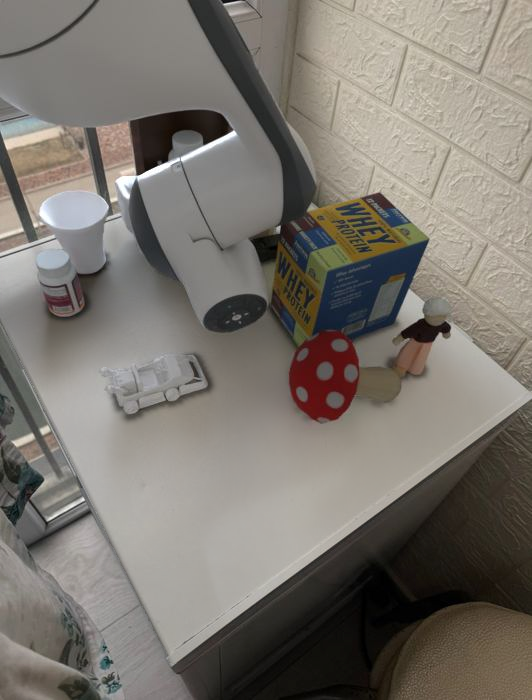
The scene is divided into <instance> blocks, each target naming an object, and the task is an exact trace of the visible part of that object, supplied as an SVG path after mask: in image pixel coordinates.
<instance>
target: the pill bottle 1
mask: <svg viewBox="0 0 532 700" xmlns="http://www.w3.org/2000/svg"><path fill="white" fill-rule="evenodd" d="M35 257H36V258H35V261H34V262H35V266H36V268H37V274H36V275H37V280H38V283H39V286H40V289H41V290H42V294H43V296H44V299H45V301H46V304H47V307H48V309H49V311H50V312H51V313H52V314H53V315H55V316H57V317H63V318H67V317H72V316H74V315H77V314H78V313H80V312H81V311H82V310H83V308H84V306H85V297H84V293H83V290H82V287H81V283H80V279H79V275H78V273H77V272H76V269H75V267H74V265H73V264H72V263H71V261H70V258H69V255H68V253H67V252H66V251H64V250H63V249H62V248H61V249H60V248H58V247H57V248H55V247H53V248H47V249H44V250H43V251H41V252H39V253H38V254H37V256H35Z"/></svg>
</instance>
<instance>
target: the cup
mask: <svg viewBox="0 0 532 700" xmlns="http://www.w3.org/2000/svg"><path fill="white" fill-rule="evenodd" d="M108 204H109V203H108V202H106V200H105V199H104V198H103V197H102V196H101V195H99V194H97V193H94V192H92V191H88V190H74V189H73V190H66V191H62V192H59V193H55V194H53V195H51V196H50V197H48V198H47V199H46V200H44V201H43V202H42V203H41V205H40V206H39V210H38V214H37V215H36V216H35V217H36V220H37V221H38V222H40V223H42V224H43V225H44V226H45V227H46V228H47V229H48V230H49V231H50V232H51V233H52V234H53V236H54V237H55V239H56V240H57V242H58V243H59V245H60V246H61V249H62V250H64V251H66V252H67V253H68V255H69V258H70V261H71V263H72V264H73V265H74V267H75V269H76V272H77V274H80V275H89V274H94V273H96V272H98V271H99V270H101V269H102V268H103V267H104V265H105V264H106V261H107V256H106V252H105V247H104V233H105V224H106V221H107V219H108V216H109V209H110V205H108Z"/></svg>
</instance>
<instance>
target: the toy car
mask: <svg viewBox="0 0 532 700" xmlns="http://www.w3.org/2000/svg"><path fill="white" fill-rule="evenodd" d="M190 362H191V363H193V365H194V368H195V370H196V372H197V375H198V377H197V376H195V373H194V370H193V368H192V366H191V363H190ZM130 368H131V369H128V370H126V369H125V368H118V369H116V370H113V369H109V368H108V367H102V368H101V369H99V371H98V373H99V374H100V375H101V376H102V377H104V378H107V377H111V384H108V385H107V386H106V387H104V389H103V390H104V391H106V393H107V394H108V395H113V394H114V395H115V396H116V400H117V403H118V406H119V407H123V410H124V412H125V414H127V415H133V414H136V413H137V412H138V411H139V410H140V409H144V408H147V407H150V406H153V405H156V404H159V403H162V402H166V400H167V401H169V402H174V401H177V400H178V399H179V398H180V396H184V395H188V394H191V393H193V392H196V391H197V392H198V391H200V390H203V389H206V388H208V385H209V383H208V380H207V379H206V378H207V377H206V376H205V374H204V371H203V369H202V367H201V365H200V362H199V361H198V359H197V357H196V356H195V355H193V354H187V355H182V354H176V353H169V354H166V355H163V356H160V357H157V358H155V359H154V360H153V362H150V363H147V364H144V365H140V366H137V365H136V364H135V363H132V364H130ZM193 380H197V382H193V383H190V382H192V381H193Z"/></svg>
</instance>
